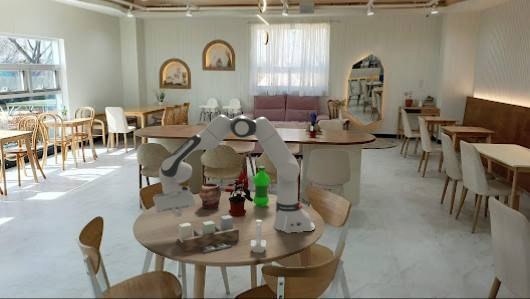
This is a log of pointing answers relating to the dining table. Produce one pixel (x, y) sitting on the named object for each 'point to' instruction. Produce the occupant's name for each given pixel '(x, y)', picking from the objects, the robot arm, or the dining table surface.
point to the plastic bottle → (261, 187)
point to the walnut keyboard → (210, 240)
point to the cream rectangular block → (185, 231)
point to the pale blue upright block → (226, 222)
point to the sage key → (208, 227)
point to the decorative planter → (210, 195)
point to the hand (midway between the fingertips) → (178, 216)
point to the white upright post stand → (258, 239)
